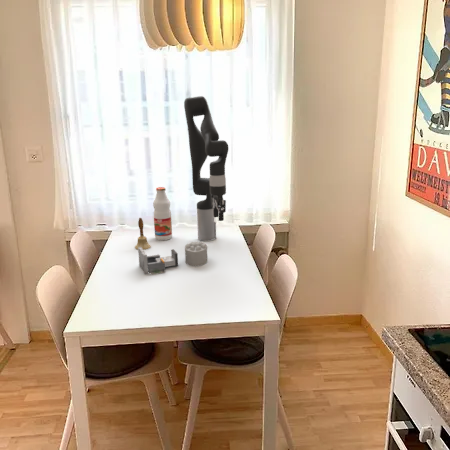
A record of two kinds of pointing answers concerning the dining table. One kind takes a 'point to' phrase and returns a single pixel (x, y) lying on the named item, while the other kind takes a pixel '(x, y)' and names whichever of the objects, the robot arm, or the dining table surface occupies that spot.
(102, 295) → the dining table surface
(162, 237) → the fruit juice
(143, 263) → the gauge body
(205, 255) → the paw print stamp
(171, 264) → the grey boxy piece
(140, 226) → the hand bell
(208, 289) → the dining table surface
